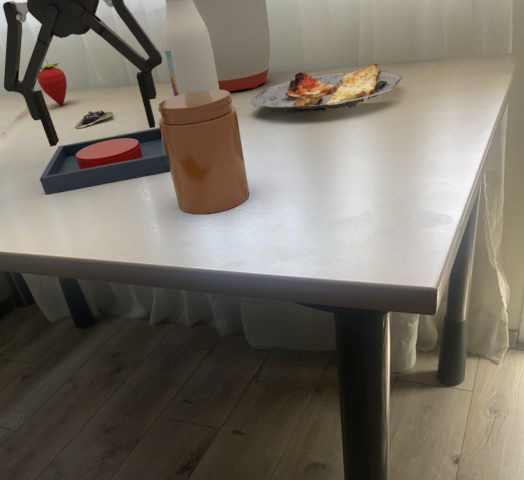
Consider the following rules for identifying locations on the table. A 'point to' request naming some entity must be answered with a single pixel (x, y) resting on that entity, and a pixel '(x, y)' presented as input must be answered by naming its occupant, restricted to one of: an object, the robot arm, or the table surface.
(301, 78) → the food plate
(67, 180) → the tray
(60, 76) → the strawberry
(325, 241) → the table surface
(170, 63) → the milk bottle
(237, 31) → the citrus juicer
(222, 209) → the jar
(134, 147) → the lid
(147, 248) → the table surface
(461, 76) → the table surface
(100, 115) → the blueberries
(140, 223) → the table surface
